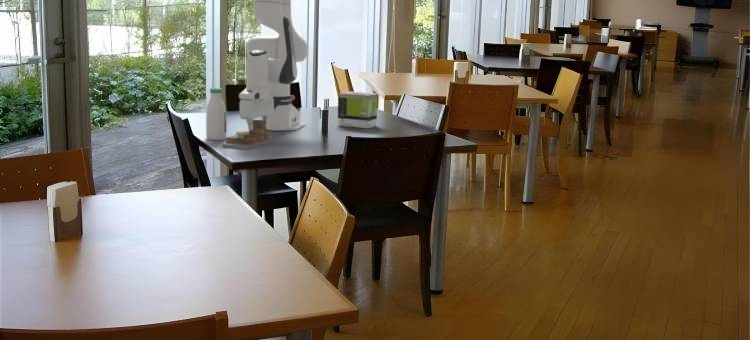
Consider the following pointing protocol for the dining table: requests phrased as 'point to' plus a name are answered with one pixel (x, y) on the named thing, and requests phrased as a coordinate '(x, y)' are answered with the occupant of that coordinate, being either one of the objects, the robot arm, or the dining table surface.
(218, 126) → the milk bottle
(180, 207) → the dining table surface
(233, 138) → the wooden stepped block
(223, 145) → the boss board
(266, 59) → the robot arm
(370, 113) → the tea box
